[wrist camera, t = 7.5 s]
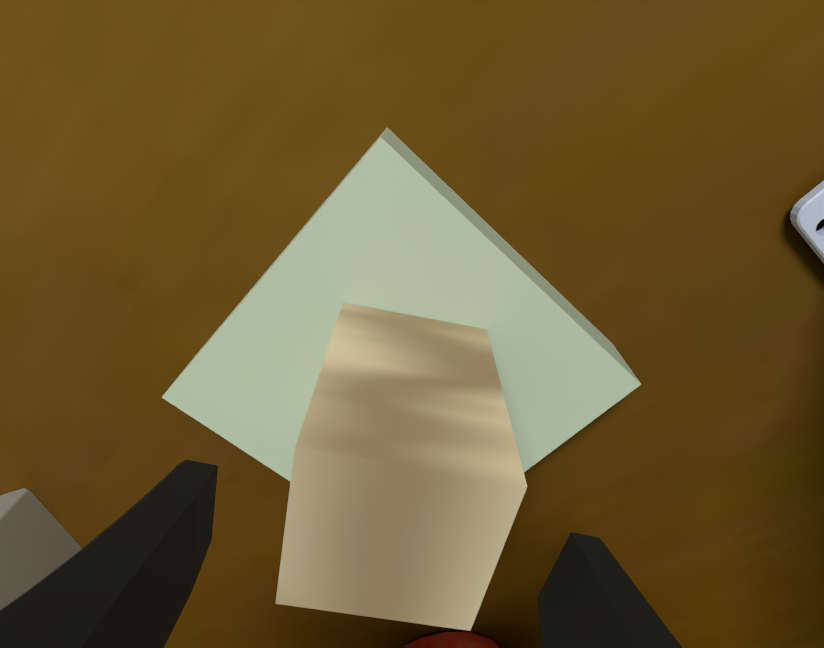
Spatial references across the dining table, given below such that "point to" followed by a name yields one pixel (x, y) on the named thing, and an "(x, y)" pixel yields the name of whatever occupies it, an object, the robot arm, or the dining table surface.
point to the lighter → (29, 544)
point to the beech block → (401, 474)
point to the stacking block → (403, 293)
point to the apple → (453, 641)
